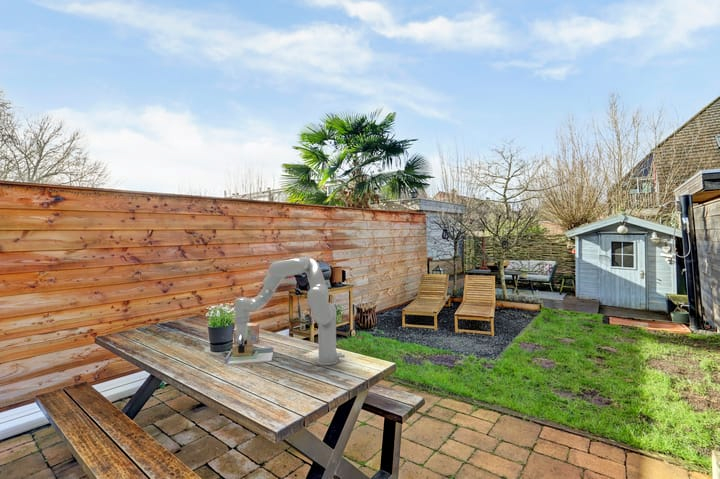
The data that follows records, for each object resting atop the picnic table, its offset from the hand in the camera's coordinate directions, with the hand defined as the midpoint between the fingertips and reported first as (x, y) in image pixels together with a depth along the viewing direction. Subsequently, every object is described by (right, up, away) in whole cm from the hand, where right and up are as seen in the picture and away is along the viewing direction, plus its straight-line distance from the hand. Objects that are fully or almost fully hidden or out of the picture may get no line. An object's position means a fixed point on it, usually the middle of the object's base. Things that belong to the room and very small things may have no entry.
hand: (242, 350), depth 191 cm
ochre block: (0, -4, 0) cm, 4 cm away
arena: (+5, -4, -1) cm, 6 cm away
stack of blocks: (-10, -5, +28) cm, 30 cm away
